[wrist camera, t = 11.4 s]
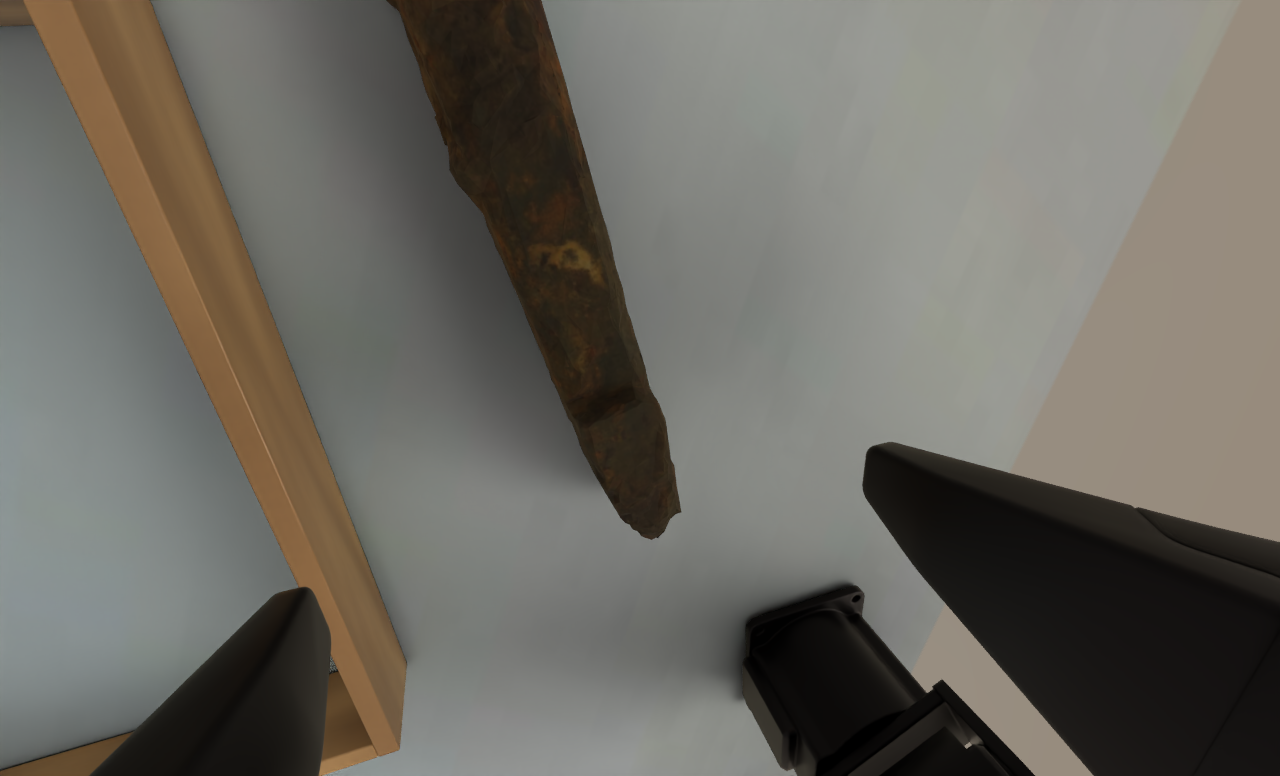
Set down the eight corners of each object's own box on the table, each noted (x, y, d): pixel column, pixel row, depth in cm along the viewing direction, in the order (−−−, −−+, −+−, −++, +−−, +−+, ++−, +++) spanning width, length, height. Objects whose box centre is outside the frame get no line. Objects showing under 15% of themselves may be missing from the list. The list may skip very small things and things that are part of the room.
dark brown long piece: (331, -105, 13) (273, -215, 9) (500, -136, 13) (520, -252, 9) (564, 512, 22) (589, 600, 18) (659, 476, 22) (705, 552, 18)
